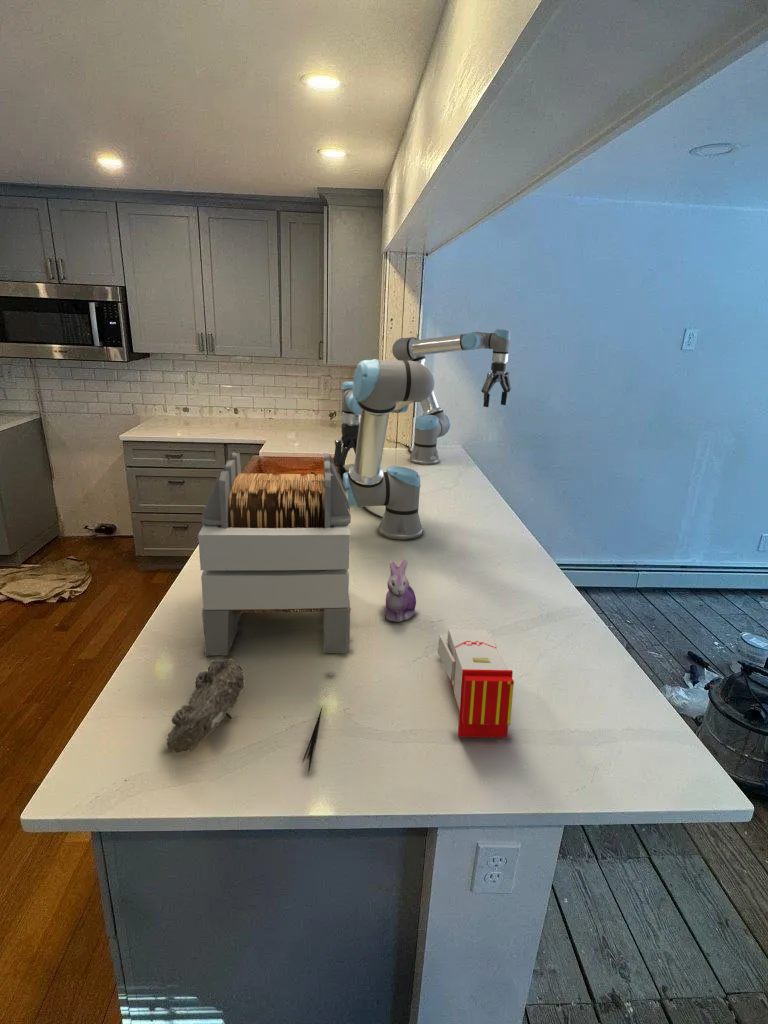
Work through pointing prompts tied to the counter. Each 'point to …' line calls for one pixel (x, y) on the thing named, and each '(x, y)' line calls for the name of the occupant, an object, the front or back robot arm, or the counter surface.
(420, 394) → the front robot arm
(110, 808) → the counter surface
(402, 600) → the figurine
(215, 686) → the fossil
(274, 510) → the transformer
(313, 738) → the feather
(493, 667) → the toy
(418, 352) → the back robot arm
